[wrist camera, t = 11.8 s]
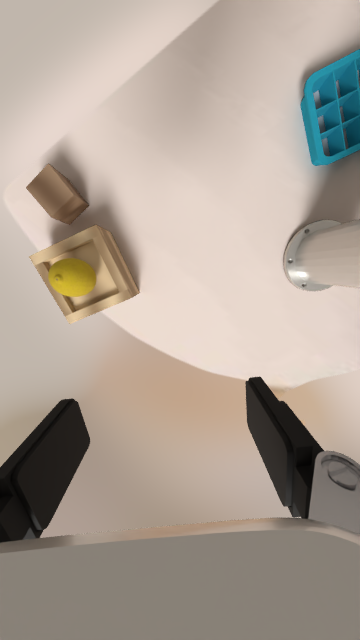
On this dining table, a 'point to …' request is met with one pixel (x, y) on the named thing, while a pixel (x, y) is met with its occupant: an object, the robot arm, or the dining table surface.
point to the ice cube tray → (333, 109)
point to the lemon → (72, 277)
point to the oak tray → (104, 260)
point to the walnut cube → (57, 195)
